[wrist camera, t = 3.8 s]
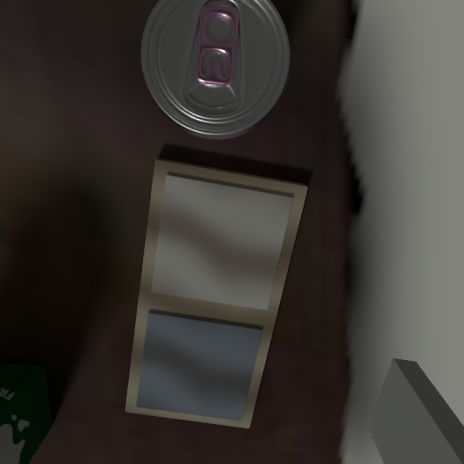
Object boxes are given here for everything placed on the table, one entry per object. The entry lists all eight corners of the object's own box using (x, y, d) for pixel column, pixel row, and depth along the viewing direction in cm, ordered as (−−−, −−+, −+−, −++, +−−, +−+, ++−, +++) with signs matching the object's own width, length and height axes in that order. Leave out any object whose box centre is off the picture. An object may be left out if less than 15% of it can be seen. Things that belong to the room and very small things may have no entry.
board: (158, 157, 30) (154, 159, 28) (304, 184, 31) (308, 187, 29) (128, 402, 37) (124, 414, 35) (248, 418, 37) (249, 430, 36)
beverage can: (265, 49, 28) (308, -22, 13) (254, 133, 29) (282, 149, 15) (184, 39, 27) (138, -46, 13) (178, 124, 29) (132, 131, 15)
